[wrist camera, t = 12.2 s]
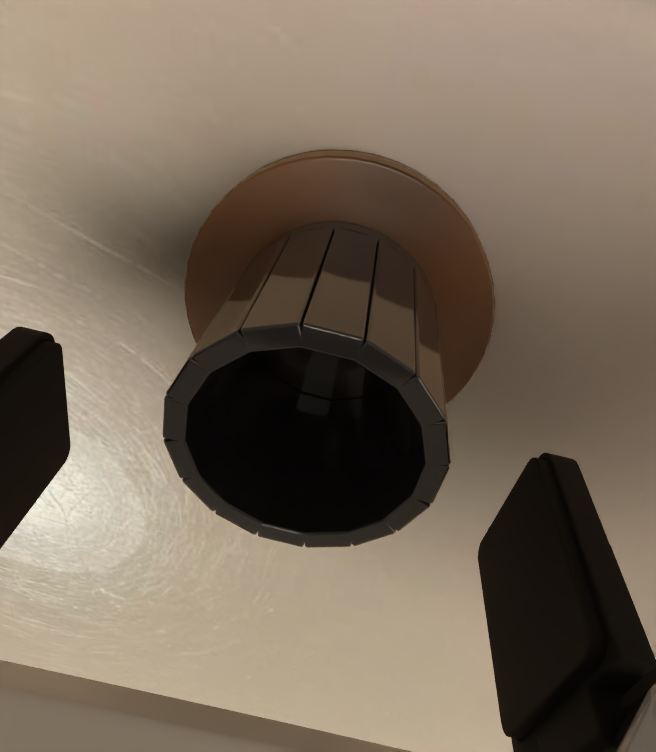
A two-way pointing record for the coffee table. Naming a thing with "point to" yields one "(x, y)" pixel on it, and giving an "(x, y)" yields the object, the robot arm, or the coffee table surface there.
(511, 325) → the coffee table surface
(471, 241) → the dark base
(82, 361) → the coffee table surface
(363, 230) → the dark bucket
